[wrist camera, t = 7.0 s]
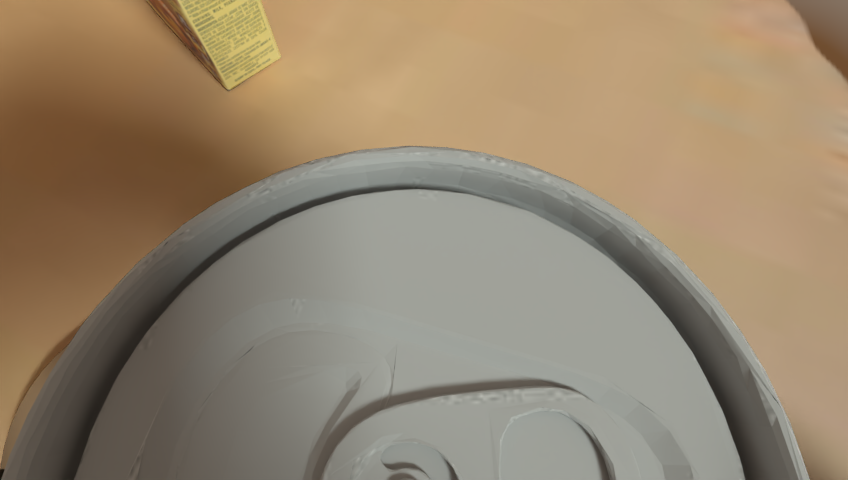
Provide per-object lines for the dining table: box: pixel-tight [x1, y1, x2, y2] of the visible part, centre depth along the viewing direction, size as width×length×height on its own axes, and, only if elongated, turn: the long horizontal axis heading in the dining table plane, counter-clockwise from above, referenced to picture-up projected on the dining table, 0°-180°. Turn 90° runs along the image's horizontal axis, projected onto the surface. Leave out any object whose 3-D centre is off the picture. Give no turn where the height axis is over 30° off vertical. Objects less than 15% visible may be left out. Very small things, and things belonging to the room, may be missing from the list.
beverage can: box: [1, 146, 810, 480], centre depth 9 cm, size 7×7×12 cm
